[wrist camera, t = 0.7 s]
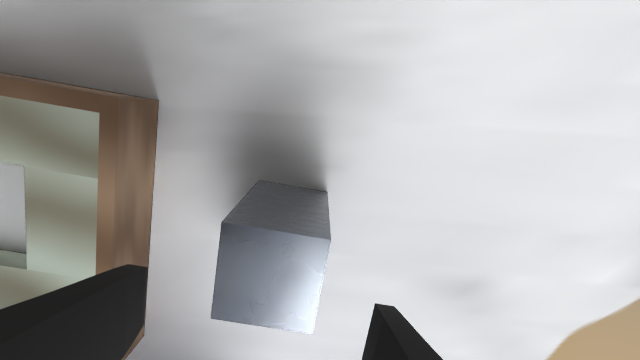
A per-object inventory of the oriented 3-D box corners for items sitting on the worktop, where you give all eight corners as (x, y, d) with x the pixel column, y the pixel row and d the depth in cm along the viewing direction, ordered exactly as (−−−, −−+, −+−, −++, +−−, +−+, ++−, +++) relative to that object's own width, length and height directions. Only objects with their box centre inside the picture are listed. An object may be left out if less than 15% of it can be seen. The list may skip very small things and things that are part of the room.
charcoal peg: (315, 254, 19) (312, 334, 12) (250, 243, 19) (210, 318, 12) (327, 192, 18) (330, 240, 11) (259, 180, 18) (221, 221, 11)
